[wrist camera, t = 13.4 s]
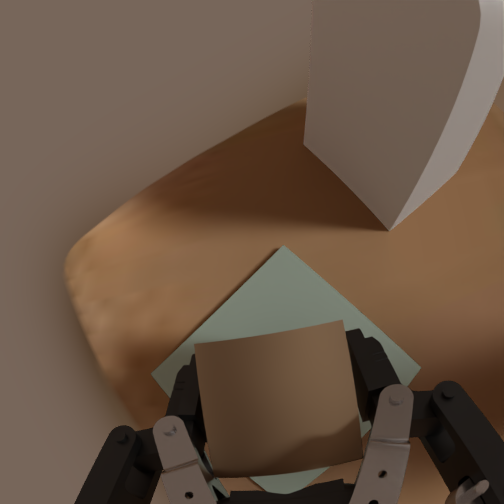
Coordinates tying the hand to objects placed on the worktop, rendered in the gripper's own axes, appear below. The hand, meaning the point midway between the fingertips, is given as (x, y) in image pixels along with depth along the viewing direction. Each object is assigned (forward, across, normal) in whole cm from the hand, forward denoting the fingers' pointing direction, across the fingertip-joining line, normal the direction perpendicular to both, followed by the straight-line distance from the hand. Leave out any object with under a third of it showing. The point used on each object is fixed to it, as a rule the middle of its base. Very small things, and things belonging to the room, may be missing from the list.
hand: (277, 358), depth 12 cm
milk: (+16, -13, -6) cm, 22 cm away
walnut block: (+3, 0, +6) cm, 7 cm away
